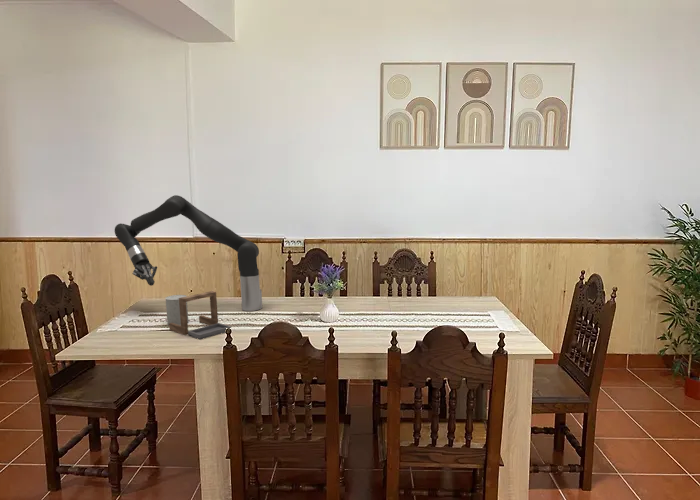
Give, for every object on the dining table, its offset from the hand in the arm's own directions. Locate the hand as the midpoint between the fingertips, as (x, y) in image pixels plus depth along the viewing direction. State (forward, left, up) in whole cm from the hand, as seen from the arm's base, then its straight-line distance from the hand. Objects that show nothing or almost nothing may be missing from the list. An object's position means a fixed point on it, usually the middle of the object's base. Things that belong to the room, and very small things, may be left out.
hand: (152, 284), depth 303 cm
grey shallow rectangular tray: (0, +47, -15) cm, 50 cm away
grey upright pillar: (0, +21, -16) cm, 26 cm away
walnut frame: (0, +34, -15) cm, 38 cm away
